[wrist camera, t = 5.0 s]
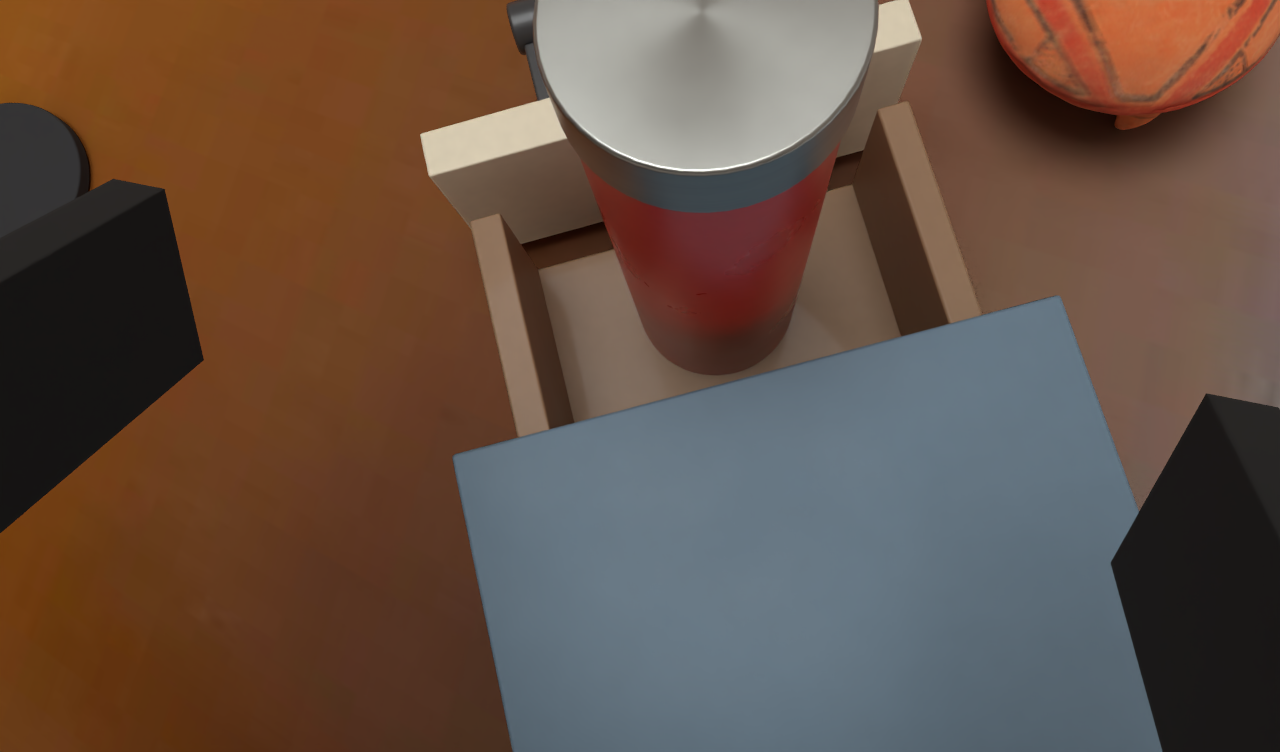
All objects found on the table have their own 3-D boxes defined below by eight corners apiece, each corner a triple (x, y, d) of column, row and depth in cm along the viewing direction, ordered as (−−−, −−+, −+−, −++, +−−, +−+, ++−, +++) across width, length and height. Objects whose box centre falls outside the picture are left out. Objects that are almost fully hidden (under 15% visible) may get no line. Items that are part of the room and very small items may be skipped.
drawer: (454, 98, 29) (387, -13, 23) (830, -8, 28) (857, -148, 23) (572, 620, 25) (528, 641, 20) (1004, 511, 25) (1086, 499, 19)
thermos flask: (731, 411, 25) (738, 243, 11) (603, 316, 26) (462, 52, 12) (829, 283, 25) (950, -30, 12) (699, 193, 26) (670, -196, 12)
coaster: (5, 308, 30) (-7, 304, 29) (-108, 208, 31) (-121, 203, 31) (124, 170, 30) (115, 164, 30) (9, 78, 32) (-2, 70, 31)
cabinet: (526, 480, 27) (450, 454, 20) (967, 365, 26) (1061, 293, 19) (634, 968, 24) (593, 1152, 17) (1130, 851, 24) (1315, 988, 16)
